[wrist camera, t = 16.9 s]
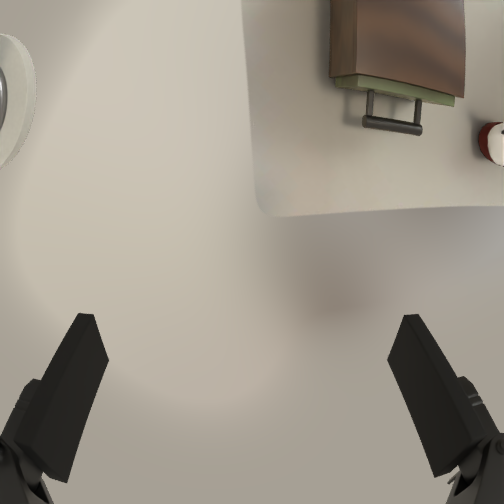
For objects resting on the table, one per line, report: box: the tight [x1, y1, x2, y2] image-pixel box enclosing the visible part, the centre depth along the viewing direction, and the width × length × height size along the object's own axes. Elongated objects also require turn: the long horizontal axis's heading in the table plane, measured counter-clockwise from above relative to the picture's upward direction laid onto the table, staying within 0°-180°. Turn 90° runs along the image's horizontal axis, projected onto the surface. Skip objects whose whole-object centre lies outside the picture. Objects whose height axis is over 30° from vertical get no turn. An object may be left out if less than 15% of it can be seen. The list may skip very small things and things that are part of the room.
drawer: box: [335, 74, 455, 136], centre depth 27 cm, size 18×11×8 cm, turn 179°
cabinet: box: [329, 0, 466, 98], centre depth 26 cm, size 15×13×10 cm
